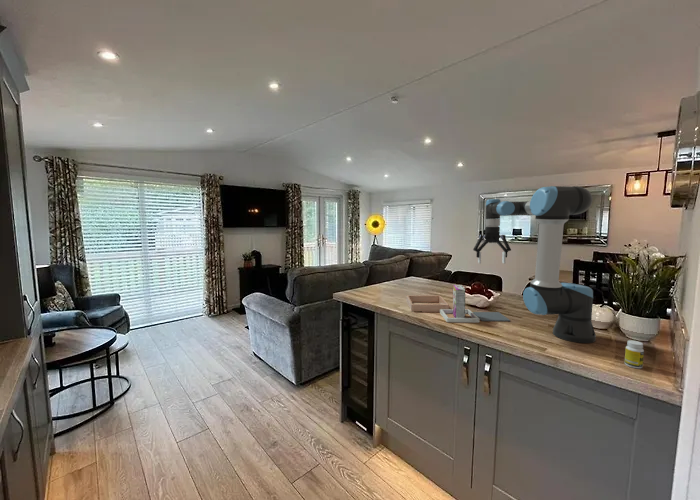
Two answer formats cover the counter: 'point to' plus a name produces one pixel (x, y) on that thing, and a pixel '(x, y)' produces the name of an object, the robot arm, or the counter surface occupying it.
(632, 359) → the supplement bottle
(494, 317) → the mat
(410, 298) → the pinkish tan tray
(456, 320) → the grey square frame
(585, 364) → the counter surface
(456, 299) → the candy bar box
